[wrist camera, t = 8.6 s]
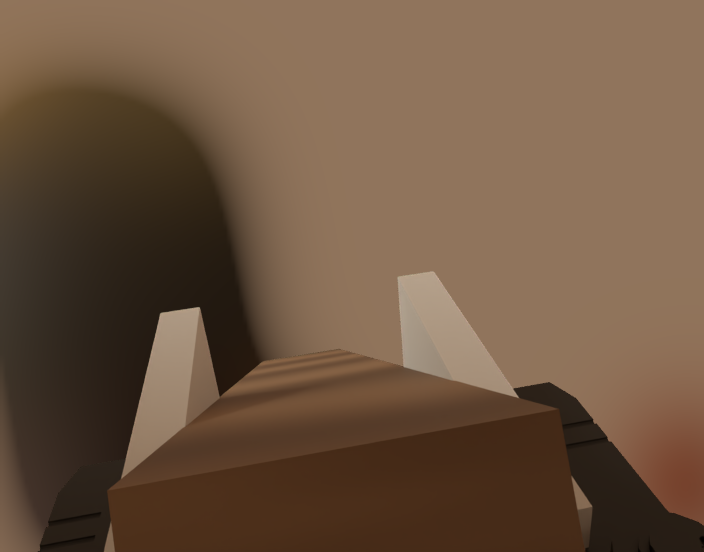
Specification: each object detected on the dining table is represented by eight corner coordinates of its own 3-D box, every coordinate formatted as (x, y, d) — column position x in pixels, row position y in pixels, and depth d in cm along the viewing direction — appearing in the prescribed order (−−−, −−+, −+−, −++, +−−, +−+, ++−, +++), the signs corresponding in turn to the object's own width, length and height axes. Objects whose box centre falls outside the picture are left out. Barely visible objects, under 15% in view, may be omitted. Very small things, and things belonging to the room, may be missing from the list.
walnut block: (645, 876, 5) (558, 409, 6) (171, 1001, 5) (107, 491, 5) (351, 425, 33) (338, 348, 34) (274, 438, 33) (263, 361, 33)
